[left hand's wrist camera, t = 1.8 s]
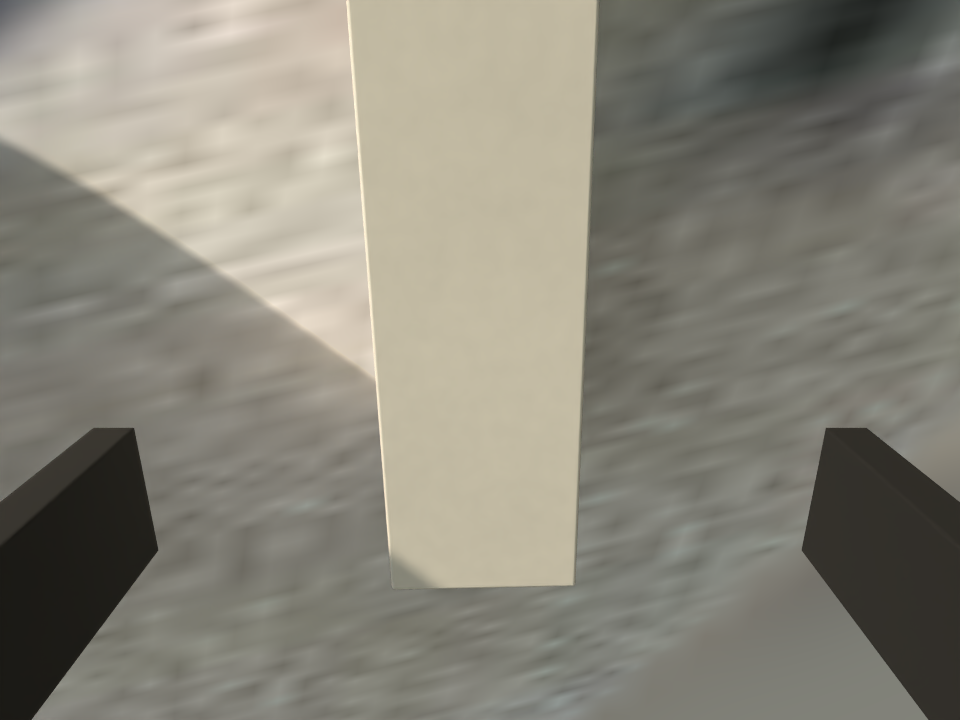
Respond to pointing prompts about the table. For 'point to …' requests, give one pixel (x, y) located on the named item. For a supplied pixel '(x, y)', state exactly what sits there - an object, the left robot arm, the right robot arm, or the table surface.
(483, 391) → the bar
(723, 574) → the table surface
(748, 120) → the table surface
